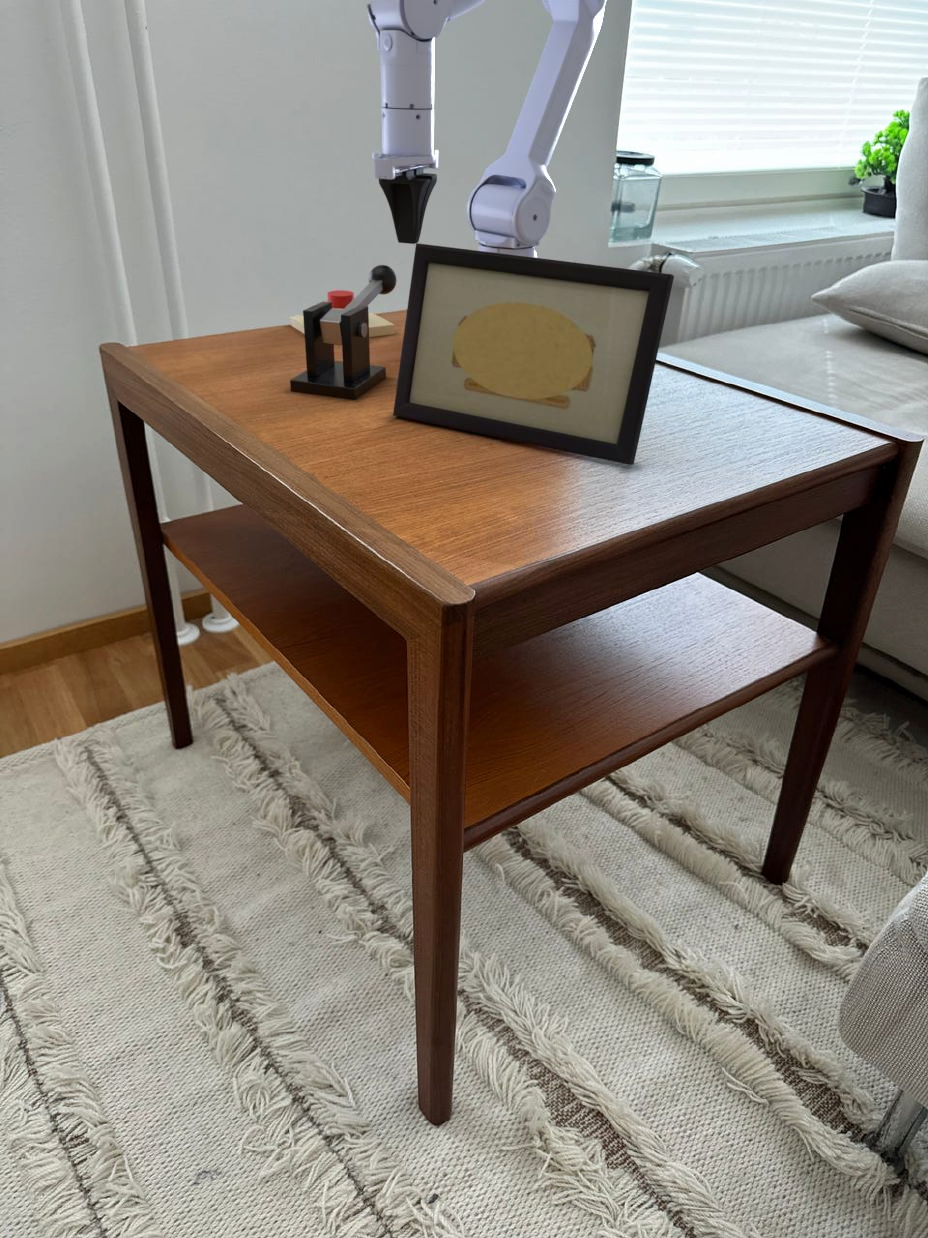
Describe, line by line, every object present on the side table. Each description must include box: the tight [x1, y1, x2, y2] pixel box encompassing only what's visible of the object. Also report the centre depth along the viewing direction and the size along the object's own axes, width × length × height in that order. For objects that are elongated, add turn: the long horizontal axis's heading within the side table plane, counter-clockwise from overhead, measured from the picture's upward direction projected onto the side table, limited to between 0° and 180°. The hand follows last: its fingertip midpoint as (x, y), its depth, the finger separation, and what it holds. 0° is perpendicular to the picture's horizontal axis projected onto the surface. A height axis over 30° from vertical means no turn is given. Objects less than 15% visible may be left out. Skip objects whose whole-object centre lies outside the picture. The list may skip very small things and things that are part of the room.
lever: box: [320, 264, 397, 346], centre depth 93 cm, size 15×3×3 cm, turn 162°
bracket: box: [289, 300, 387, 401], centre depth 89 cm, size 8×7×8 cm
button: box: [326, 289, 355, 309], centre depth 108 cm, size 3×3×2 cm
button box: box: [289, 299, 396, 338], centre depth 109 cm, size 10×9×3 cm
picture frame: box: [392, 242, 675, 466], centre depth 79 cm, size 23×9×15 cm, turn 62°
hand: (408, 242), depth 104 cm, fingers closed
